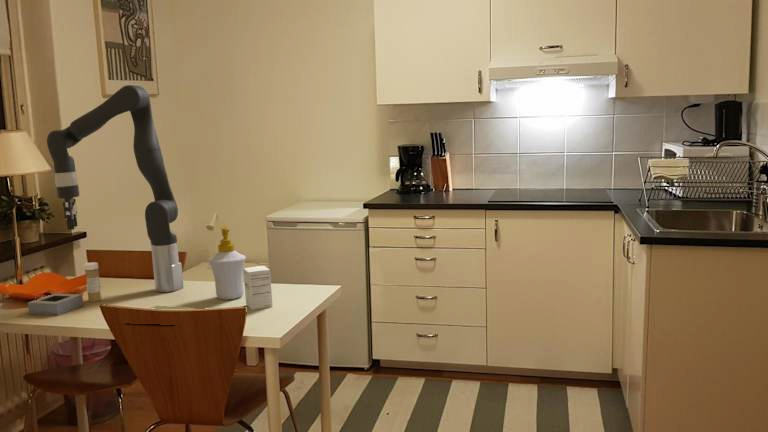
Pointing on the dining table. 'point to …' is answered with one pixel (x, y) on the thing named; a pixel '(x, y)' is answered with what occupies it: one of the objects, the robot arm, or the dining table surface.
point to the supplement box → (257, 287)
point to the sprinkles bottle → (92, 281)
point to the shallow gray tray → (55, 304)
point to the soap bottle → (228, 269)
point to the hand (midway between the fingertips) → (72, 228)
